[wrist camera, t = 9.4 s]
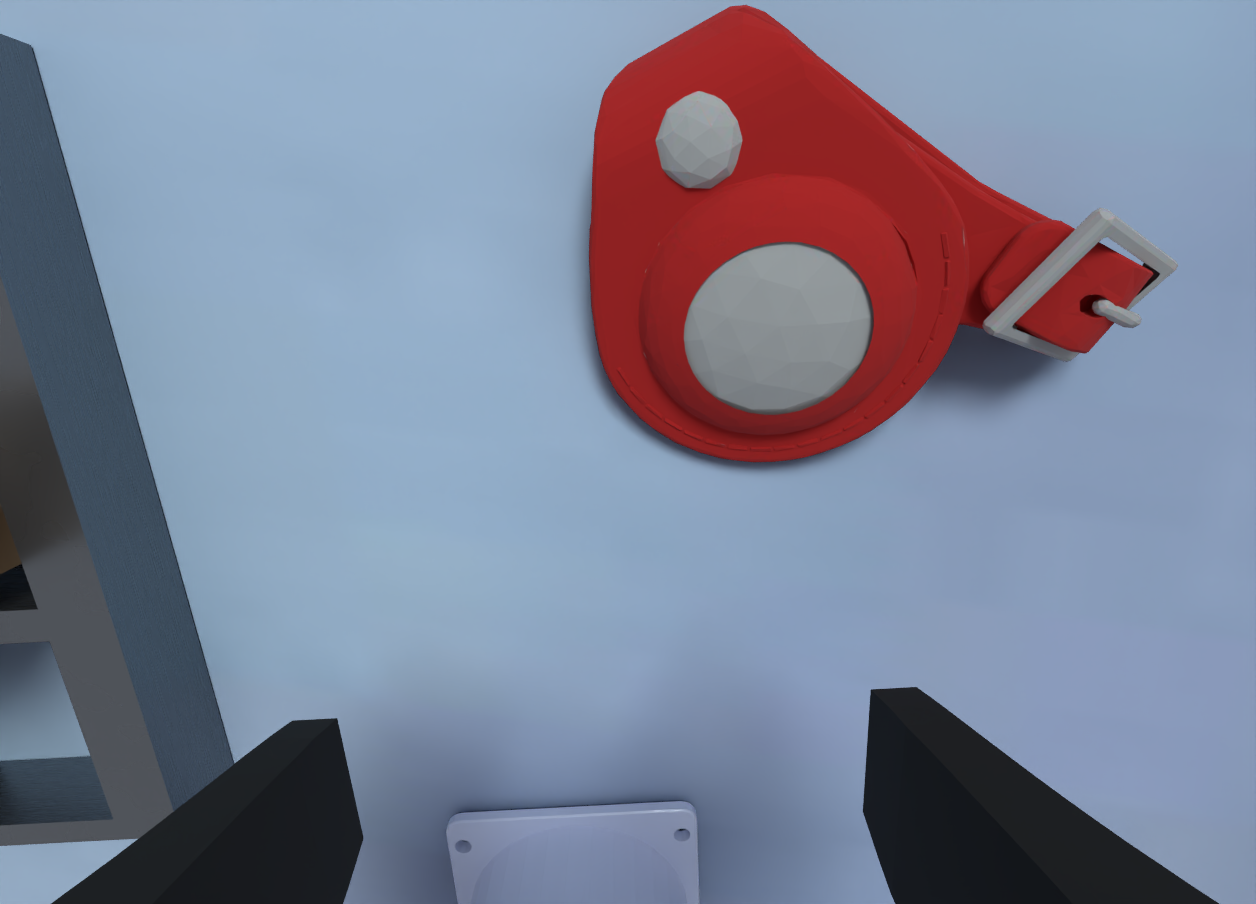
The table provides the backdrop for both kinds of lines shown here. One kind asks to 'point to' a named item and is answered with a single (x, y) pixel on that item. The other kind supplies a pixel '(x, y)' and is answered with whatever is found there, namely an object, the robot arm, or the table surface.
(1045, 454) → the table surface
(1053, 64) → the table surface
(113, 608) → the rail
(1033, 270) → the tracker holder
